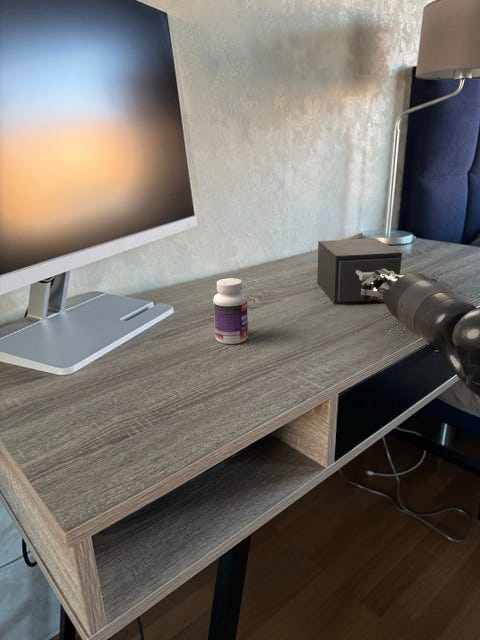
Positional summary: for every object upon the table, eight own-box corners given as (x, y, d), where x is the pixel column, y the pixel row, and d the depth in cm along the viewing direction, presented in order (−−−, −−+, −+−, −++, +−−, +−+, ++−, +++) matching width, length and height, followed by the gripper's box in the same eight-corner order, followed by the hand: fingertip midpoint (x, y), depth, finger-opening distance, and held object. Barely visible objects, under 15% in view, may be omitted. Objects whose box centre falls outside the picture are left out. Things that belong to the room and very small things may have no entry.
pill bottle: (249, 344, 71) (248, 285, 67) (216, 346, 70) (212, 287, 67) (246, 331, 76) (245, 275, 72) (215, 333, 75) (211, 277, 72)
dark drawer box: (406, 305, 82) (410, 264, 79) (345, 309, 81) (347, 267, 78) (373, 279, 98) (375, 244, 95) (322, 282, 98) (323, 247, 95)
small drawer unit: (397, 300, 87) (402, 252, 84) (334, 304, 87) (336, 256, 83) (372, 280, 101) (375, 238, 97) (317, 283, 100) (318, 241, 97)
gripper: (376, 333, 64) (341, 297, 80) (464, 327, 65) (412, 293, 81) (380, 283, 61) (342, 256, 78) (472, 278, 62) (416, 252, 78)
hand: (378, 275), depth 79 cm, fingers closed
